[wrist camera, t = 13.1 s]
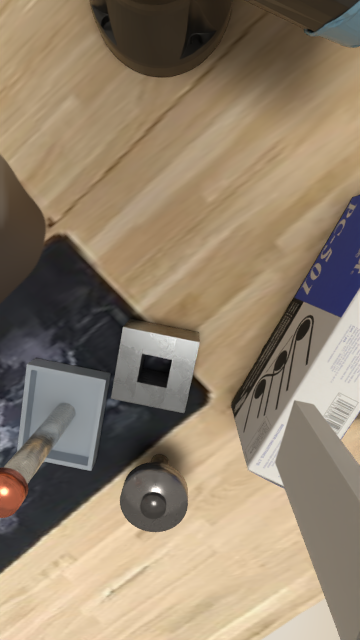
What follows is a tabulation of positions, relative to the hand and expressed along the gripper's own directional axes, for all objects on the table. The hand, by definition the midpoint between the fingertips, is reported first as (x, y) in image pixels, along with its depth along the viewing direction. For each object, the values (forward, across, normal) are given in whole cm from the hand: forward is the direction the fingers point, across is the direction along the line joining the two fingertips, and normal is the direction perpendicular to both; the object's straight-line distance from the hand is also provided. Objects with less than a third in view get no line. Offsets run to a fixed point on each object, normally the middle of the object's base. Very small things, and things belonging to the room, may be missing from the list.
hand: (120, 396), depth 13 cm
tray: (+30, -11, -19) cm, 38 cm away
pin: (+30, -11, -19) cm, 37 cm away
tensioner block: (+31, 0, -9) cm, 32 cm away
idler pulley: (+30, +3, -24) cm, 39 cm away
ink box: (+31, +18, 0) cm, 36 cm away
